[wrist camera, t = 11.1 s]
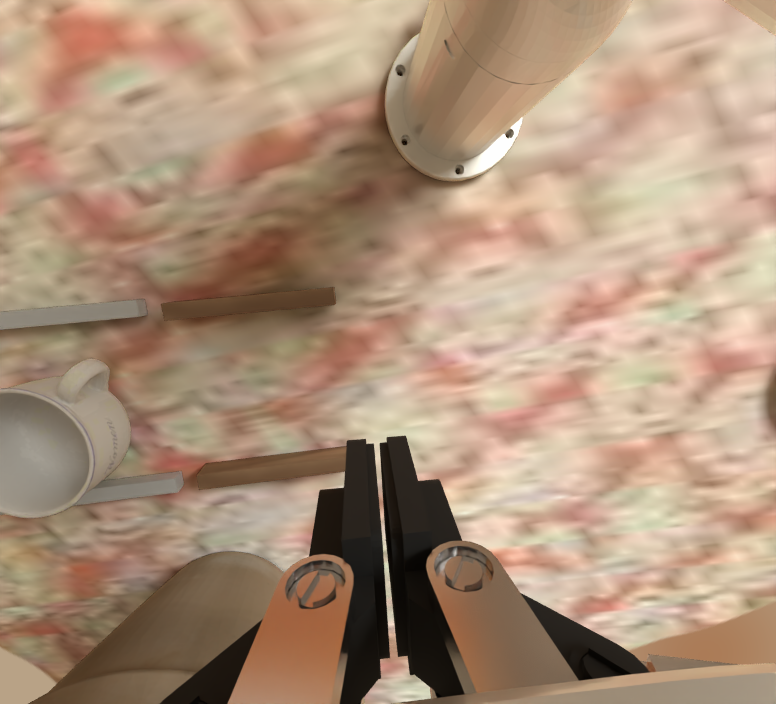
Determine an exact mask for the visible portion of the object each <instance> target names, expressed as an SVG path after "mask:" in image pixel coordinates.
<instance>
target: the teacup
mask: <svg viewBox="0 0 776 704" xmlns="http://www.w3.org/2000/svg"><path fill="white" fill-rule="evenodd" d="M109 376H110V369H109V367H108V366H107V365H106V364H105V363H103V362H101V361H99V360H97V359H93V358H90V359H86V360H83V361H81V362H79V363H78V364H76V365H75V366H73V367H72V368H71V369H69V370H68V371H67V372H66V373H65V374H64V376H61V377H51V378H44V379H40V380H35V381H31V382H27V383H24V384H20V385H16V386H13V387H9V388H2V389H0V512H1V513H4V514H6V515H11V516H16V517H19V518H41V517H47V516H51V515H55V514H57V513H60V512H62V511H64V510H66V509H68V508H70V507H71V506H72V505H74V504H75V503H76V502H78V501H79V500H80V499H81V498H82V497H83V496H84V494H86V493H87V492H89V491H90V490H91V489H93V488H94V487H95V486H96V485H98V484H99V483H100V482H101V481H102V480H104V479H105V478H106V477H107V476H108V475H109V474H111V473H112V472H113V471H114V470H115V469H116V467H117V466H118V465H119V464H120V463H121V461H122V460H123V458H124V457H125V455H126V453H127V450H128V448H129V444H130V440H131V425H130V421H129V417H128V415H127V412H126V410H125V408H124V407H123V405H122V404H121V402H120V401H119V400H118V399H117V398H116V397H115V396H114V395H113V394H112V393H111V392H110V391H108V388H109V384H108V381H109Z"/></svg>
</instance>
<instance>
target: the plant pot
mask: <svg viewBox="0 0 776 704" xmlns="http://www.w3.org/2000/svg"><path fill="white" fill-rule="evenodd" d="M283 574H284V573H283V572H282V571H281V570H280V569H279V568H278V567H277V566H275V565H274V564H272V563H271V562H269V561H267V560H265V559H263V558H261V557H259V556H255V555H252V554H249V553H242V552H219V553H214V554H210V555H207V556H204V557H201V558H199V559H197V560H195V561H193V562H191V563H189V564H188V565H186V566H185V567H184V568H183V569H181V570H180V571H179V572H178V573H177V574H175V575H174V576H173V577H172V578H171V579H170V580H169V581H167V582H166V583H165V584H164V585H163V586H162V587H160V588H159V589H158V590H157V591H156V592H155V593H154V594H153V595H152V596H151V597H150V598H148V599H147V600H146V601H145V602H144V603H143V604H142V605H141V606H140V607H139V608H138V609H136V610H135V611H134V612H133V613H132V614H131V615H130V616H129V617H128V618H127V619H126V620H125V621H124V622H122V623H121V624H120V625H119V626H118V627H117V628H116V629H115V630H114V631H113V632H112V633H111V634H110V635H108V636H107V637H106V638H105V639H104V640H103V641H102V642H101V643H100V644H99V645H98V646H97V647H95V648H94V649H93V650H92V651H91V652H90V653H89V654H88V655H87V656H86V657H85V658H84V659H83V660H82V661H81V662H80V663H79V664H77V665H76V666H75V667H74V668H73V669H72V670H71V671H70V672H69V673H68V674H67V675H66V676H65V677H64V678H63V679H62V680H61V681H60V682H59V683H58V684H57V685H56V686H55V687H53V688H52V689H51V690H50V691H49V692H48V693H47V694H45V695H43V696H41V697H39V698H38V699H36V700H34V701H32V702H30V703H29V704H160V703H161V702H162V701H163V700H164V699H165V698H166V697H167V696H169V695H170V694H171V693H172V692H174V691H175V690H176V689H177V688H178V687H180V686H181V685H182V684H183V683H185V682H186V681H187V680H188V679H190V678H191V677H192V676H193V675H194V674H196V673H197V672H198V671H199V670H201V669H202V668H203V667H204V666H205V665H207V664H208V663H209V662H210V661H212V660H213V659H214V658H215V657H217V656H218V655H219V654H220V653H221V652H223V651H224V650H225V649H226V648H228V647H229V646H230V645H231V644H233V643H234V642H235V641H236V640H237V639H239V638H240V637H241V636H242V635H244V634H245V633H246V632H247V631H249V630H250V629H251V628H252V627H253V626H255V625H256V624H257V623H258V622H260V621H261V620H262V619H263V618H264V616H265V613H266V611H267V608H268V606H269V604H270V601H271V599H272V597H273V594H274V592H275V589H276V587H277V585H278V582H279V581H280V579H281V577H282V576H283Z"/></svg>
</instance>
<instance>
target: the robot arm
mask: <svg viewBox="0 0 776 704" xmlns="http://www.w3.org/2000/svg"><path fill="white" fill-rule="evenodd" d="M632 1H633V0H430V1H429V5H428V8H427V12H426V15H425V18H424V22H423V25H422V29H421V32H420V33H418V34H417V35H416V36H414V37H413V38H411V39H410V41H409V42H408V43H407V44H406V45H405V46H404V47H403V48H402V49H401V51H400V53H399V54H398V56H397V58H396V59H395V61H394V63H393V65H392V68H391V71H390V73H389V76H388V80H387V85H386V91H385V102H384V106H385V118H386V122H387V126H388V130H389V133H390V136H391V138H392V140H393V142H394V144H395V146H396V148H397V149H398V151H399V152H400V154H401V155H402V156H403V158H404V159H405V160H406V161H407V162H408V163H409V164H410V165H411V166H412V167H414V168H415V169H417V170H418V171H420V172H421V173H423V174H425V175H427V176H430V177H432V178H434V179H438V180H444V181H463V180H467V179H472V178H474V177H476V176H479V175H481V174H483V173H485V172H486V171H488V170H489V169H491V168H492V167H493V166H495V165H496V164H497V163H498V162H499V161H500V160H501V159H503V157H504V156H505V155H506V154H507V152H508V151H509V150H510V149H511V147H512V145H513V144H514V142H515V140H516V138H517V136H518V133H519V130H520V127H521V124H522V121H523V116H525V115H526V114H527V113H528V112H529V111H530V110H531V109H532V108H533V107H535V106H536V105H537V104H538V103H539V102H540V101H541V100H542V99H543V98H544V97H546V96H547V95H548V94H549V93H550V92H551V91H552V90H553V89H554V88H556V87H557V86H558V85H559V84H560V83H561V82H562V81H563V80H564V79H565V78H567V77H568V76H569V75H570V74H571V73H572V72H573V71H574V70H575V69H577V68H578V67H579V66H580V65H581V64H582V63H583V62H584V61H585V60H586V59H587V58H588V57H589V56H590V55H592V54H593V53H594V52H595V51H596V50H597V49H598V48H599V47H600V46H601V45H602V44H603V43H604V41H605V40H606V39H607V38H608V37H609V36H610V35H611V34H612V32H613V31H614V30H615V28H616V27H617V26H618V24H619V23H620V21H621V20H622V18H623V17H624V15H625V14H626V12H627V10H628V9H629V7H630V5H631V3H632ZM723 1H725V2H726V3H727V4H729V5H730V6H732V7H733V8H735V9H736V10H738V11H739V12H741V13H742V14H744V15H745V16H747V17H748V18H750V19H751V20H753V21H754V22H755V23H757V24H758V25H760V26H761V27H763V28H765V29H766V30H768V31H769V32H771V33H772V34H774V35H775V36H776V0H723ZM397 73H401V74H402V76H398V75H397ZM505 134H506V135H507V136H508V139H507V138H506V137H505ZM402 141H406V142H407V145H403V144H402ZM456 169H457V170H459V174H456V173H455V170H456ZM380 456H381V472H382V488H383V504H384V520H385V534H386V545H387V554H388V564H389V574H390V584H391V593H392V603H393V613H394V623H395V633H396V642H397V652H398V657H401V656H408V663H409V671H410V675H414V674H415V675H416V676H417V677H418V678H419V679H421V680H422V681H423V682H424V683H426V684H427V685H428V686H429V687H430V693H431V699H425V700H417V701H409V702H401V703H393V704H776V663H766V664H747V665H738V664H729V663H720V662H711V661H703V660H694V659H685V658H676V657H667V656H659V655H650V654H648V658H647V662H644V661H639V660H638V659H637V658H636V657H635V656H634V655H633V654H631V653H630V652H628V651H627V650H625V649H624V648H622V647H621V646H619V645H618V644H616V643H614V642H612V641H610V640H608V639H606V638H604V637H603V636H601V635H599V634H597V633H595V632H593V631H591V630H589V629H587V628H586V627H584V626H582V625H580V624H578V623H576V622H574V621H572V620H570V619H569V618H567V617H565V616H563V615H561V614H559V613H557V612H555V611H554V610H552V609H550V608H548V607H546V606H544V605H542V604H540V603H538V602H537V601H535V600H533V599H531V598H529V597H527V596H525V595H523V594H521V593H520V592H519V590H518V589H517V587H516V586H515V585H514V583H513V582H512V580H511V579H510V577H509V576H508V574H507V573H506V571H505V570H504V568H503V567H502V565H501V564H500V562H499V561H498V559H497V558H496V557H495V556H494V555H493V554H492V553H491V552H490V551H489V550H487V549H486V548H484V547H483V546H481V545H478V544H475V543H473V542H468V541H462V539H461V536H460V534H459V531H458V528H457V525H456V523H455V520H454V517H453V515H452V512H451V509H450V506H449V504H448V501H447V498H446V496H445V493H444V490H443V487H442V485H441V482H440V480H439V479H436V480H425V481H418V479H417V475H416V471H415V468H414V464H413V460H412V457H411V453H410V449H409V446H408V442H407V438H406V436H396V437H387V442H386V443H380ZM384 658H390V652H389V636H388V621H387V606H386V590H385V575H384V559H383V545H382V531H381V520H380V509H379V497H378V486H377V475H376V464H375V452H374V444H366V439H360V440H348V441H347V446H346V464H345V483H344V488H336V489H325V490H320V492H319V498H318V504H317V510H316V516H315V523H314V529H313V535H312V542H311V548H310V554H309V557H307V558H304V559H302V560H300V561H298V562H297V563H295V564H293V565H292V566H291V567H290V568H289V569H288V570H287V571H286V572H285V573H284V574H283V576H282V577H281V579H280V581H279V582H278V585H277V587H276V589H275V592H274V594H273V597H272V599H271V601H270V604H269V606H268V608H267V611H266V613H265V616H264V618H263V619H262V620H261V621H260V622H258V623H257V624H256V625H255V626H253V627H252V628H251V629H250V630H249V631H247V632H246V633H245V634H244V635H242V636H241V637H240V638H239V639H237V640H236V641H235V642H234V643H233V644H231V645H230V646H229V647H228V648H226V649H225V650H224V651H223V652H221V653H220V654H219V655H218V656H217V657H215V658H214V659H213V660H212V661H210V662H209V663H208V664H207V665H205V666H204V667H203V668H202V669H201V670H199V671H198V672H197V673H196V674H194V675H193V676H192V677H191V678H190V679H188V680H187V681H186V682H185V683H183V684H182V685H181V686H180V687H178V688H177V689H176V690H175V691H174V692H172V693H171V694H170V695H169V696H167V697H166V698H165V699H164V700H163V701H162V702H161V703H160V704H365V699H364V696H365V695H366V694H367V693H368V691H369V690H370V689H371V688H372V686H373V685H374V684H375V683H376V681H377V680H378V679H381V671H380V659H384Z"/></svg>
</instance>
